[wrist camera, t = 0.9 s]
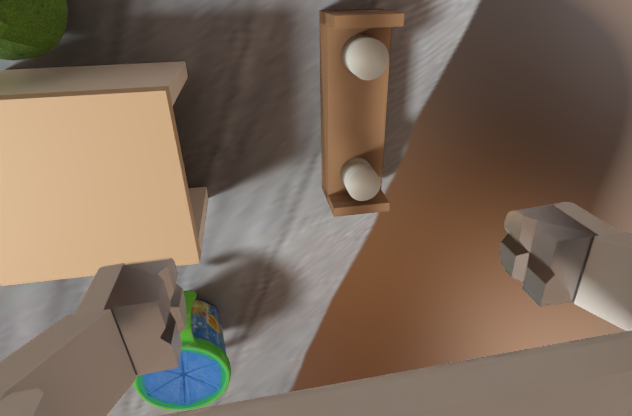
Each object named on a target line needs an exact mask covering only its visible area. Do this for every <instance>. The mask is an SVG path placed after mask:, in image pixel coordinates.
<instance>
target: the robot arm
mask: <svg viewBox="0 0 632 416" xmlns="http://www.w3.org/2000/svg"><path fill="white" fill-rule="evenodd" d="M504 228H505V229H506V230H507V232H508V234H507V235H506V236H505V238H504V239H503V240H502V241H501V246H500V258H501V262H502V265H503V266H504V268H505V271H506V272H507V273H508V274H509V275H510V276H511V277H512V278H515V279H517V280H519V281H522V282H523V289H524V291H525V292H526V293H527V294H528V295H529V296H530V297H531V298H532V299H533V300H534V301H535V302H536V303H537V304H538V305H539V306H540V307H542V306H549V305H556V304H563V303H570V302H574V304H576V305H578V306H579V307H581V308H583V309H586V310H587V311H589V312H591V313H593V314H595V315H597V316H599V317H601V318H603V319H604V320H606V321H608V322H610V323H612V324H614V325H616V326H618V327H620V328H622V329H624V330H626V331H625V332H620V333H614V334H608V335H603V336H598V337H592V338H586V339H581V340H575V341H570V342H564V343H559V344H553V345H547V346H542V347H536V348H531V349H525V350H520V351H514V352H509V353H503V354H498V355H492V356H487V357H481V358H476V359H470V360H464V361H459V362H453V363H448V364H443V365H437V366H431V367H426V368H421V369H415V370H410V371H404V372H399V373H394V374H388V375H382V376H377V377H371V378H366V379H360V380H355V381H349V382H344V383H338V384H333V385H327V386H322V387H316V388H311V389H305V390H299V391H294V392H288V393H283V394H277V395H272V396H266V397H261V398H255V399H250V400H244V401H238V402H233V403H227V404H222V405H216V406H211V407H205V408H200V409H194V410H189V411H183V412H178V413H172V414H166V415H161V416H632V233H630V232H622V233H621V232H619V231H618V230H616V229H614V228H613V227H611V226H610V225H608V224H606V223H605V222H603V221H601V220H600V219H598V218H597V217H595V216H593V215H592V214H590V213H588V212H587V211H585V210H584V209H582V208H580V207H579V206H577V205H575V204H574V203H570V202H564V203H558V204H552V205H547V206H541V207H535V208H529V209H523V210H516V211H510V212H509V213H508V215H507V216H506V219H505V224H504ZM177 276H178V271H177V267H176V264H175V261H174V260H173V259H172V258H164V259H155V260H147V261H138V262H130V263H120V264H114V265H107V266H103V267H100V268H99V269H98V271H97V273H96V275H95V276H94V278H93V280H92V282H91V284H90V286H89V288H88V290H87V291H86V293H85V295H84V297H83V299H82V301H81V303H80V305H79V306H78V308H77V310H76V312H75V314H73V315H67V316H65V317H64V318H62V319H61V320H60V321H58V322H57V323H55V324H54V325H52V326H51V327H50V328H48V329H47V330H45V331H44V332H42V333H41V334H40V335H38V336H37V337H35V338H34V339H32V340H31V341H30V342H28V343H27V344H25V345H24V346H22V347H21V348H20V349H18V350H17V351H15V352H14V353H12V354H11V355H10V356H8V357H7V358H5V359H4V360H2V361H1V362H0V416H106V415H107V414H108V413H109V411H110V410H111V409H112V408H113V407H114V405H115V404H116V403H117V402H118V401H119V399H120V398H121V397H122V396H123V394H124V393H125V392H126V391H127V390H128V388H129V387H130V386H131V385H132V383H133V382H134V381H135V380H136V379H137V377H136V376H138V375H143V374H149V373H154V372H159V371H164V370H169V369H174V368H178V366H179V360H180V354H181V349H182V341H181V337H180V333H181V332H182V331H183V330H184V329H185V325H186V303H185V296H184V293H183V289H182V288H181V287H180V286H178V285H177V284H176V281H177Z"/></svg>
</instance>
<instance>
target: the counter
mask: <svg viewBox="0 0 632 416" xmlns="http://www.w3.org/2000/svg"><path fill="white" fill-rule="evenodd" d="M187 78H188V74H187V68H186V63H185V61H180V62H159V63H138V64H117V65H96V66H75V67H54V68H33V69H12V70H3V71H0V284H1V286H6V285H15V284H24V283H32V282H41V281H50V280H58V279H67V278H76V277H85V276H93V275H96V273H97V271H98V269H99V268H100V267H103V266H107V265H114V264H120V263H130V262H138V261H147V260H155V259H164V258H172V259H173V260H174V261H175V264H176V266H181V265H189V264H198V263H200V257H201V250H202V243H203V235H204V228H205V220H206V213H207V205H208V193H207V187H198V188H188V183H187V178H186V173H185V168H184V163H183V158H182V152H181V147H180V142H179V137H178V132H177V126H176V121H175V116H174V111H173V105H174V103H175V101H176V99H177V97H178V95H179V93H180V91H181V90H182V88H183V86H184V84H185V82H186V80H187Z"/></svg>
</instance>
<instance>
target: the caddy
mask: <svg viewBox="0 0 632 416" xmlns="http://www.w3.org/2000/svg"><path fill="white" fill-rule="evenodd" d="M319 15H320V87H321V158H322V189H323V191H324V194H325V196H326V199H327V201H328V204H329V206H330V208H331V211H332V213H333V216H334V217H335V216H345V215H355V214H364V213H374V212H384V211H389V206H390V202H389V201H388V199H387V198H386V197H385V195H384V194H383V192H382V191H381V183H382V168H383V153H384V138H385V122H386V107H387V92H388V76H389V61H390V46H391V30H392V27H403V26H404V15H405V13H399V12H394V11H388V10H382V9H363V10H332V11H319Z"/></svg>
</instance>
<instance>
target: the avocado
mask: <svg viewBox="0 0 632 416" xmlns="http://www.w3.org/2000/svg"><path fill="white" fill-rule="evenodd" d="M67 22H68V5H67V2H66V0H0V59H5V60H20V59H27V58H33V57H38V56H42V55H44V54H46V53H47V52H49V51H50V50H52V49H53V48H55V47H56V46H57V45H58V43H59V41H60V40H61V38H62V36H63V35H64V33H65V30H66V28H67Z"/></svg>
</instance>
